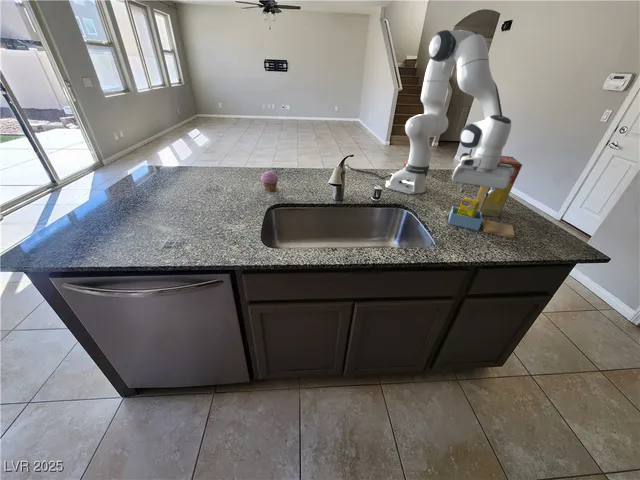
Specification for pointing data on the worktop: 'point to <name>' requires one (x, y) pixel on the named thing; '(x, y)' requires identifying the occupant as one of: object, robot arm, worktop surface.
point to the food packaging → (497, 191)
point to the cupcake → (269, 180)
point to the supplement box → (468, 207)
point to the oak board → (498, 228)
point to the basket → (465, 219)
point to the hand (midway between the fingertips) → (473, 194)
